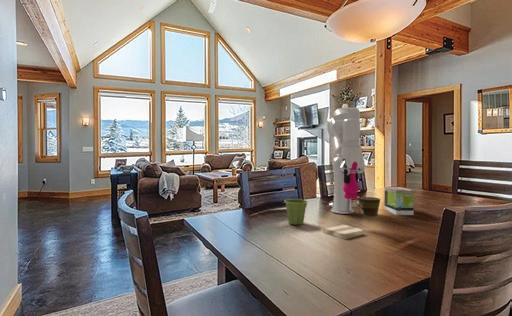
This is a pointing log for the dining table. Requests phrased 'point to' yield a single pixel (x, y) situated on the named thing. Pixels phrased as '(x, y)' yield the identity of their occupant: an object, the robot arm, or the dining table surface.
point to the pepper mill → (351, 184)
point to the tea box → (399, 200)
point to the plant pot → (295, 210)
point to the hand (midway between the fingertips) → (350, 182)
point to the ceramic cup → (369, 205)
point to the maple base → (343, 231)
